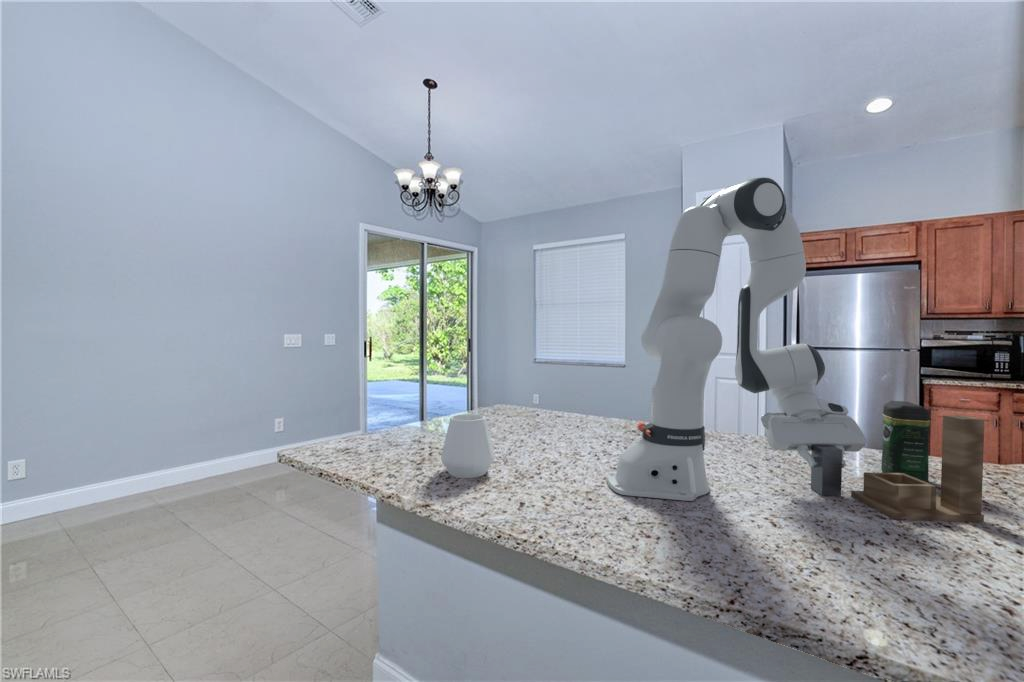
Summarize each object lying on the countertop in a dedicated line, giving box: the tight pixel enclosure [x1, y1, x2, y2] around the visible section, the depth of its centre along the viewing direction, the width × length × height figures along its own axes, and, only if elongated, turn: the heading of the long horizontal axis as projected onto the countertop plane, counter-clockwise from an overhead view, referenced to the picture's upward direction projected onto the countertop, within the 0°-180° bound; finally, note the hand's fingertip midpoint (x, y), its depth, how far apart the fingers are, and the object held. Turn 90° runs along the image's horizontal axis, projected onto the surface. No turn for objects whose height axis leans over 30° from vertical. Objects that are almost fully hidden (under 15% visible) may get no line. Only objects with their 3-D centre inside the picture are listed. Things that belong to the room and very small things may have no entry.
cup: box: [440, 413, 496, 479], centre depth 113 cm, size 13×13×14 cm
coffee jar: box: [880, 400, 931, 483], centre depth 110 cm, size 10×8×19 cm
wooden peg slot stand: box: [850, 414, 986, 523], centre depth 91 cm, size 16×12×19 cm
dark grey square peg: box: [810, 445, 843, 497], centre depth 100 cm, size 4×4×10 cm
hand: (828, 466), depth 99 cm, fingers closed on dark grey square peg, 4 cm apart
